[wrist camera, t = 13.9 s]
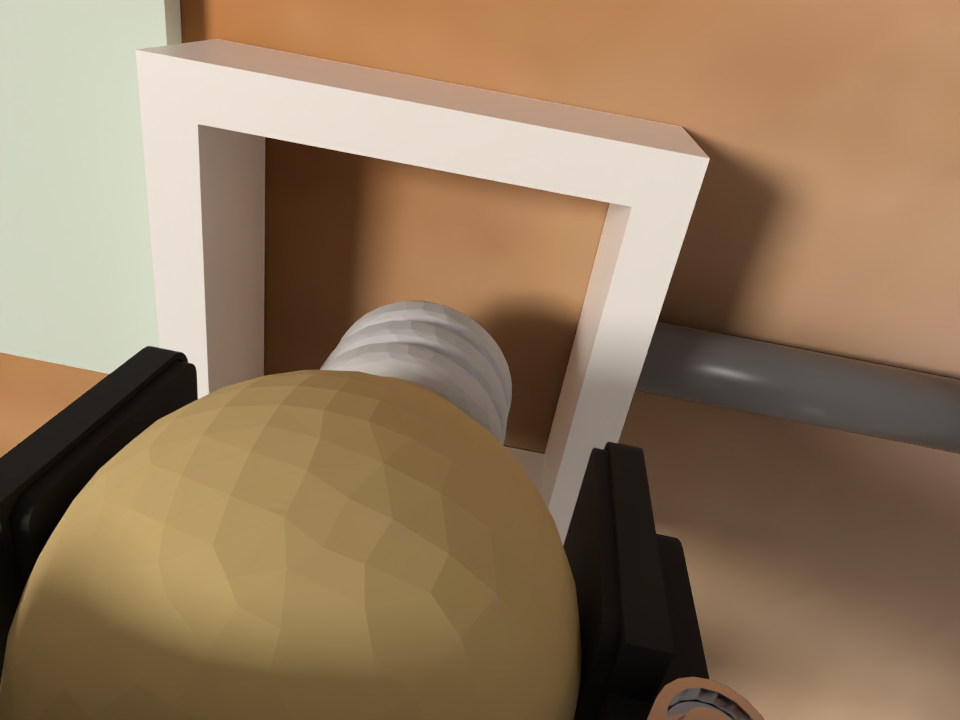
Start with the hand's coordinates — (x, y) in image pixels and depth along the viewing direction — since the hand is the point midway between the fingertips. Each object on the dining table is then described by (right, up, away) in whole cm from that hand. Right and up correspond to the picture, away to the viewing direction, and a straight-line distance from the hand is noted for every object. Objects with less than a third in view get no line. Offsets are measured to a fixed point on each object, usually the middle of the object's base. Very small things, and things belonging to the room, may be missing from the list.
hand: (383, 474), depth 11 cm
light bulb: (+1, +2, +4) cm, 4 cm away
